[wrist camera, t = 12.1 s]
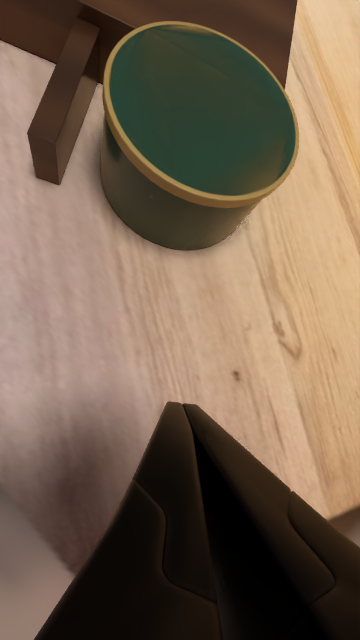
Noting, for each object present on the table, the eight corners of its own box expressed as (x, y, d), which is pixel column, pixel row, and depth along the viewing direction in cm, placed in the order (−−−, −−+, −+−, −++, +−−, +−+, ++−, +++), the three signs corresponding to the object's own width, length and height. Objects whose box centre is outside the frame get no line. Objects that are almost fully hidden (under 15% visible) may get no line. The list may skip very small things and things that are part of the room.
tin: (200, 284, 24) (244, 242, 17) (61, 179, 23) (53, 92, 16) (270, 180, 28) (326, 116, 22) (156, 87, 27) (180, -11, 20)
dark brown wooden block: (233, 246, 26) (267, 213, 21) (-108, 126, 20) (-164, 45, 16) (275, 1, 34) (306, -61, 29) (43, -130, 29) (36, -232, 24)
